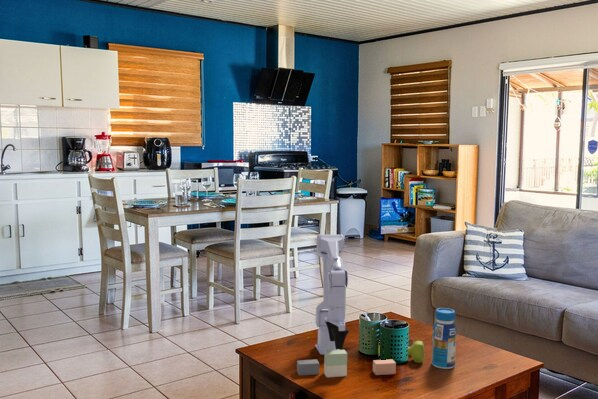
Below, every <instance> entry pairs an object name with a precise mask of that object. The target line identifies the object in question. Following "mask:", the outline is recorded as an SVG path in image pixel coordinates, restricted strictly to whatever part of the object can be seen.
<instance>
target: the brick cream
mask: <svg viewBox="0 0 598 399" xmlns="http://www.w3.org/2000/svg"><path fill="white" fill-rule="evenodd" d="M323 364H324V366H323V373H324V376H325V378H335V377H337V378H339V377H347V375H348V364H347V365H338V366H326V364H325V362H323Z"/></svg>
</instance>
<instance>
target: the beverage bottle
mask: <svg viewBox="0 0 598 399" xmlns="http://www.w3.org/2000/svg"><path fill="white" fill-rule="evenodd" d="M434 317H435V322H434V324H433V326H432V331H433V332H432V333H431V337H432V350H431V365H432V366H433V367H435V368H438V369H443V370H449V369H453V368H455V366H456V347H457V345H456V344H457V342H456V341H457V340H458V337H457V334H456V333H457V326H456V324H455V320H456V311H455V309H452V308H448V307H438V308H436V309H435V316H434Z"/></svg>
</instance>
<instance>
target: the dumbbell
mask: <svg viewBox="0 0 598 399" xmlns="http://www.w3.org/2000/svg"><path fill="white" fill-rule="evenodd" d="M379 343H380V342H379V341H378V347H377V353H378V354H377V355H378V357H379V356H380V345H379ZM407 347H408V355H407V356H411V358H412V360H413V362H414V363H416V364H417V363H418V364H421V363H423V362H424V359H425V344H424V342H423V341H422V340H416V341H414V342H413V344H412V345H411V346H407Z"/></svg>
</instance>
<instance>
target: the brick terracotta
mask: <svg viewBox="0 0 598 399" xmlns="http://www.w3.org/2000/svg"><path fill="white" fill-rule="evenodd" d="M396 369H397V362H396V361H395V360H394V359H393V358H392V359H391V358H390V359H386V360H381V359H375V360H374V359H373V360H372V372H373V373H374V375H376V376H380V375H396V372H397V370H396Z"/></svg>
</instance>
